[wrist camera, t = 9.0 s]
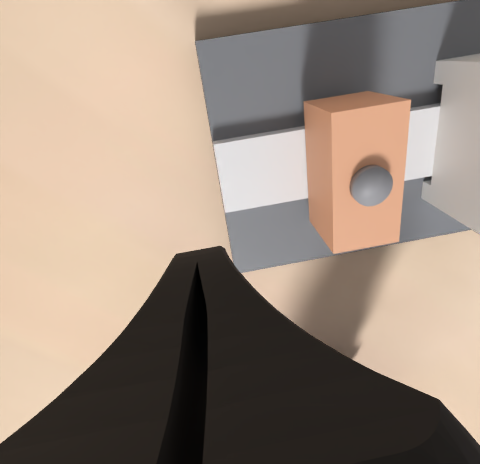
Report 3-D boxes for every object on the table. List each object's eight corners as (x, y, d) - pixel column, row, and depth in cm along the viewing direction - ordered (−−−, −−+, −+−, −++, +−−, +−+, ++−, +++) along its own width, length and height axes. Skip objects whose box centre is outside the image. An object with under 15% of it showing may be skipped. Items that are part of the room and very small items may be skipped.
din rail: (610, -23, 17) (689, -37, 14) (543, 206, 22) (591, 227, 20) (195, 41, 16) (196, 39, 13) (233, 264, 21) (240, 294, 19)
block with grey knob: (367, 90, 16) (417, 100, 12) (364, 210, 19) (403, 246, 15) (303, 101, 16) (335, 114, 12) (309, 220, 18) (336, 258, 15)
